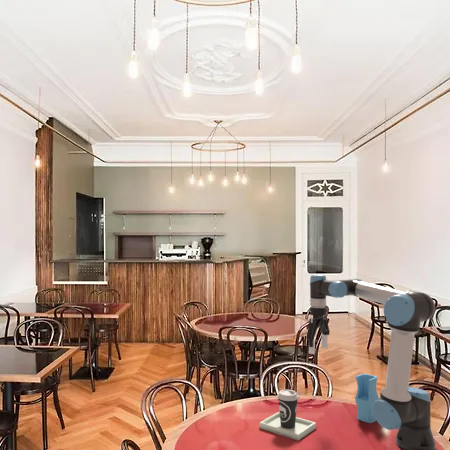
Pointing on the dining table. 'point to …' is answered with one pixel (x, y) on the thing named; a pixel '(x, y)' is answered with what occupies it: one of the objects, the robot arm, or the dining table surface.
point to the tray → (295, 433)
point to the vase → (366, 397)
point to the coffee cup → (287, 408)
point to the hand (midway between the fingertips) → (318, 351)
